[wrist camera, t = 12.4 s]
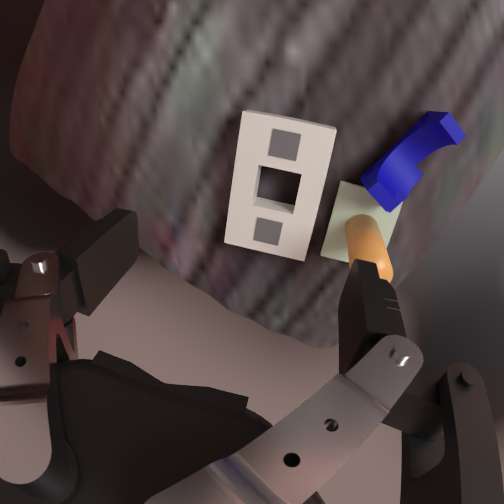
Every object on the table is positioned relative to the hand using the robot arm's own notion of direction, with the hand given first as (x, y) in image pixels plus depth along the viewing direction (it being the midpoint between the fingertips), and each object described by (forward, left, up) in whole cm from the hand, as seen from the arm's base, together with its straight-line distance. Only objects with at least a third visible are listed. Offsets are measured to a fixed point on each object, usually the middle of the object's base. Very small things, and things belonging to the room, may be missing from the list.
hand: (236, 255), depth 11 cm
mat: (+8, +10, -27) cm, 30 cm away
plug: (+9, +10, -27) cm, 30 cm away
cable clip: (-1, +13, -27) cm, 30 cm away
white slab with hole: (+5, -1, -27) cm, 28 cm away
